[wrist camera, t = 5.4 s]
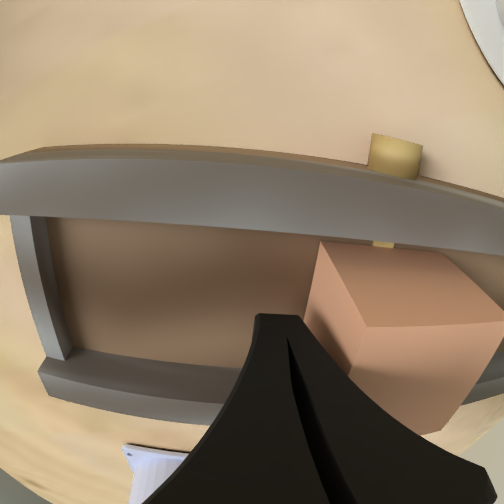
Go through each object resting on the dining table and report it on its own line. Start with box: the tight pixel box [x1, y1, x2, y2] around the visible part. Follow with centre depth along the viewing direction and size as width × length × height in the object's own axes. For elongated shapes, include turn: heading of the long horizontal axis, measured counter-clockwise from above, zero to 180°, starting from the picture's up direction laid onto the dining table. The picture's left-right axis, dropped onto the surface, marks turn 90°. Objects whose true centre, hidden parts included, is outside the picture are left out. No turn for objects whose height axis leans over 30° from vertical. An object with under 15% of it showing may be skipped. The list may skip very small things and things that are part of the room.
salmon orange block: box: [304, 241, 504, 435], centre depth 9 cm, size 5×5×4 cm
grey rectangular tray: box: [0, 133, 504, 426], centre depth 11 cm, size 12×26×4 cm, turn 84°
